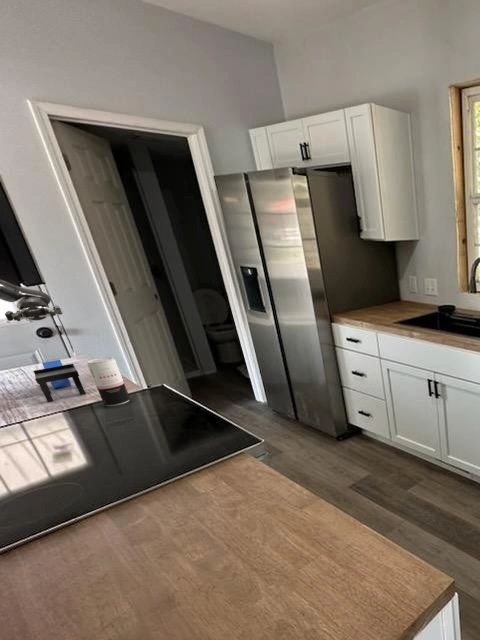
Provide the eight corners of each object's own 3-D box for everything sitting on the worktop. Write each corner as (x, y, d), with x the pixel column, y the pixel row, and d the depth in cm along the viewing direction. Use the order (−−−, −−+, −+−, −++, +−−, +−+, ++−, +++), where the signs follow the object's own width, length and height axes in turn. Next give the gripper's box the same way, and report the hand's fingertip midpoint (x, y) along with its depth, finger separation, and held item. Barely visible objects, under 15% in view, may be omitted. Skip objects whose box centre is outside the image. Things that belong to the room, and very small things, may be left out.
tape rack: (44, 393, 148) (33, 370, 145) (82, 385, 155) (72, 363, 152) (46, 402, 139) (35, 378, 136) (87, 393, 146) (77, 370, 143)
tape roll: (54, 391, 150) (42, 365, 146) (52, 385, 156) (41, 360, 152) (72, 387, 153) (61, 361, 149) (70, 382, 159) (59, 357, 156)
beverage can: (104, 402, 137) (86, 360, 132) (130, 397, 142) (114, 355, 136) (104, 408, 133) (86, 364, 128) (131, 402, 137) (114, 359, 132)
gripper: (2, 302, 156) (0, 309, 146) (55, 296, 165) (57, 303, 155) (12, 321, 159) (10, 330, 149) (64, 315, 168) (66, 322, 158)
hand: (34, 316), depth 152 cm, fingers open, 8 cm apart
